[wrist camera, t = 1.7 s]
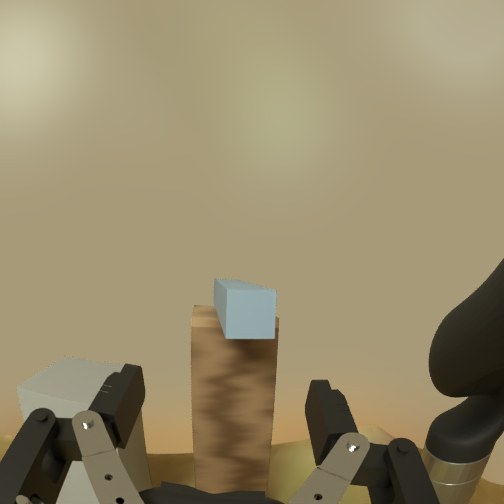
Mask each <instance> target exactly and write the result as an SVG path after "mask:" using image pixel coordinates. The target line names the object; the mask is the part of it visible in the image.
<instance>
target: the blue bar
mask: <svg viewBox="0 0 504 504" xmlns="http://www.w3.org/2000/svg"><path fill="white" fill-rule="evenodd" d="M276 294H277V291H276V290H273V289H269V288H265V287H262V286H258V285H254V284H251V283H247V282H244V281H240V280H226V279H215V280H214V305H215V308H216V311H217V314H218V317H219V320H220V323H221V326H222V329H223V332H224V335H225V338H226V339H275V318H276Z"/></svg>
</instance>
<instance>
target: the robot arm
mask: <svg viewBox="0 0 504 504" xmlns="http://www.w3.org/2000/svg"><path fill="white" fill-rule="evenodd" d="M429 372H430V377H431V379H432V382H433V384H434V386H435V387H436V389H437V390H438V391H439V392H440V393H442V394H444V395H446V396H449V397H468V396H469V397H468V398H467V399H466V400H465V401H463V402H462V403H461V404H459V405H457V406H456V407H454V408H452V409H450V410H448V411H446V412H444V413H442V414H440V415H439V416H438V417H436V418H435V420H434V421H433V422H432V424H431V426H430V428H429V431H428V435H427V438H426V442H425V445H424V448H423V451H422V454H421V456H420V454H419V451H418V449H417V447H416V445H415V444H414V443H413V442H412V441H411V440H409V439H406V438H397V439H394V440H392V441H391V442H390V443H389V445H381V444H373V443H370V442H369V441H368V439H367V438H366V437H365V436H363V435H361V434H359V433H358V430H357V427H356V425H355V422H354V419H353V417H352V414H351V412H350V409H349V406H348V405H347V401H346V399H345V396H344V395H343V394H342V393H341V392H340V391H339V390H338V389H337V390H331V387H330V384H329V381H328V380H312V381H311V383H310V387H309V391H308V395H307V400H306V404H305V415H306V420H307V425H308V429H309V434H310V439H311V444H312V448H313V453H314V458H315V463H316V466H319V465H320V467H317V468H316V469H315V470H314V471H313V473H312V474H311V475H310V477H309V478H308V479H307V480H306V482H305V483H304V484H303V485H302V487H301V488H300V489H299V490H298V492H297V493H296V494H295V495H294V496H293V498H292V499H291V500H290V501H289V502H288V503H287V504H338V502H339V501H340V499H341V498H342V496H343V494H344V493H345V491H346V490H347V488H348V486H349V485H350V484H351V485H359V486H367V487H368V491H369V495H370V499H371V504H468V503H469V501H470V499H471V497H472V496H473V494H474V492H475V490H476V486H477V484H478V482H479V480H480V478H481V476H482V474H483V471H484V469H485V467H486V464H487V462H488V460H489V457H490V455H491V453H492V450H493V448H494V445H495V443H496V441H497V439H498V438H499V437H500V436H501V435H502V433H503V431H504V259H503V260H502V261H501V262H500V264H499V265H498V266H497V268H496V269H495V270H494V271H493V273H492V274H491V275H490V276H489V277H488V279H487V280H486V281H485V282H484V283H483V284H482V285H481V286H480V287H479V288H478V289H477V290H476V291H475V292H474V293H473V294H471V295H470V296H469V297H468V298H467V299H465V300H464V301H463V302H462V303H461V304H459V305H458V306H457V307H456V308H454V309H453V310H452V311H451V312H450V313H449V314H448V315H447V316H446V317H445V318H444V319H443V321H442V323H441V324H440V326H439V327H438V329H437V331H436V333H435V336H434V338H433V341H432V344H431V348H430V353H429ZM144 399H145V386H144V379H143V373H142V368H141V366H137V365H131V364H125V365H124V366H123V368H122V370H121V372H120V373H119V372H114V373H112V374H111V375H109V376H108V377H107V378H106V380H105V382H104V383H103V385H102V386H101V388H100V391H98V393H97V395H96V396H95V398H94V400H93V401H92V403H91V405H90V406H89V408H88V410H85V411H81V412H79V413H77V414H76V415H75V416H74V417H73V418H58V417H56V416H55V414H54V412H53V411H52V410H50V409H48V408H38V409H35V410H34V411H32V412H31V413H30V415H29V416H28V418H27V419H26V421H25V422H24V424H23V426H22V427H21V429H20V431H19V432H18V434H17V435H16V437H15V438H14V440H13V442H12V443H11V445H10V447H9V448H8V450H7V452H6V454H5V455H4V457H3V459H2V461H1V462H0V504H56V502H57V499H58V496H59V494H60V491H61V489H62V486H63V484H64V481H65V478H66V476H67V473H68V471H69V469H70V466H71V464H72V461H83V464H84V467H85V469H86V472H87V475H88V477H89V480H90V482H91V485H92V487H93V490H94V492H95V494H96V497H97V499H98V501H99V503H100V504H284V503H282V502H280V501H277V500H275V499H271V498H267V497H265V491H241V490H239V491H232V492H225V493H216V494H212V493H208V492H205V491H201V490H198V489H195V488H192V487H189V486H186V485H180V484H173V483H167V482H162V483H161V487H160V488H150V489H146V490H143V491H140V492H137V490H136V488H135V486H134V485H133V483H132V481H131V479H130V477H129V475H128V473H127V471H126V469H125V467H124V465H123V463H122V461H121V459H120V457H119V455H118V453H117V451H116V449H117V447H118V448H122V449H125V448H126V445H127V442H128V440H129V437H130V435H131V432H132V430H133V427H134V425H135V422H136V420H137V417H138V415H139V412H140V410H141V407H142V405H143V402H144Z"/></svg>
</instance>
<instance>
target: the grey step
mask: <svg viewBox="0 0 504 504" xmlns="http://www.w3.org/2000/svg"><path fill="white" fill-rule="evenodd" d="M124 365H125V364H117V363H108V362H101V361H93V360H87V359H80V358H74V357H67V356H64V357H62V358H61V359H60V360H58V361H56V362H55V363H53V364H51V365H50V366H48V367H47V368H45V369H44V370H42V371H40V372H39V373H37V374H36V375H34V376H33V377H31V378H29V379H28V380H26V381H25V382H23V383H22V384H20V385H19V386H17V392H18V397H19V402H20V406H21V410H22V415H23V419H24V422H25V421H26V419H27V418H28V416H29V415H30V413H31V412H32V411H34V410H35V409H38V408H48V409H50V410H52V411H53V412H54V414H55V416H56V417H58V418H73V417H74V416H75V415H76V414H77V413H79V412H81V411H85V410H88V408H89V406H90V405H91V403H92V401H93V400H94V398H95V396H96V395H97V393H98V391H100V388H101V386H102V385H103V383H104V382H105V380H106V378H107V377H108V376H109V375H111V374H112V373H114V372H119V373H120V372H121V370H122V368H123V366H124ZM116 451H117V453H118V455H119V457H120V459H121V461H122V463H123V465H124V467H125V469H126V471H127V473H128V475H129V477H130V479H131V481H132V483H133V485H134V486H135V488H136V490H137V492H140V491H143V490H146V489H150V488H152V484H151V479H150V473H149V467H148V460H147V453H146V446H145V439H144V431H143V421H142V411H141V410H140V412H139V415H138V417H137V420H136V422H135V425H134V427H133V430H132V432H131V435H130V437H129V440H128V442H127V445H126V448H125V449H122V448H118V447H117V449H116ZM56 504H100V503H99V501H98V499H97V497H96V494H95V492H94V490H93V487H92V485H91V482H90V480H89V477H88V475H87V472H86V469H85V467H84V464H83V461H72V464H71V466H70V469H69V471H68V473H67V476H66V478H65V481H64V484H63V486H62V489H61V491H60V494H59V496H58V499H57V502H56Z"/></svg>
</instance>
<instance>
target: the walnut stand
mask: <svg viewBox="0 0 504 504" xmlns="http://www.w3.org/2000/svg"><path fill="white" fill-rule="evenodd" d="M278 331H279V318H277V317H276V318H275V339H226V338H225V335H224V332H223V329H222V326H221V323H220V320H219V317H218V314H217V311H216V308H215V306H198V305H195V306H194V308H193V312H192V316H191V391H192V392H191V393H192V394H191V395H192V428H193V448H194V466H195V481H196V489H198V490H201V491H205V492H208V493H212V494H216V493H225V492H232V491H239V490H241V491H265V497H266V496H267V485H268V475H269V464H270V452H271V440H272V439H271V438H272V427H273V412H274V398H275V384H276V383H275V382H276V368H277V350H278Z"/></svg>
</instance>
